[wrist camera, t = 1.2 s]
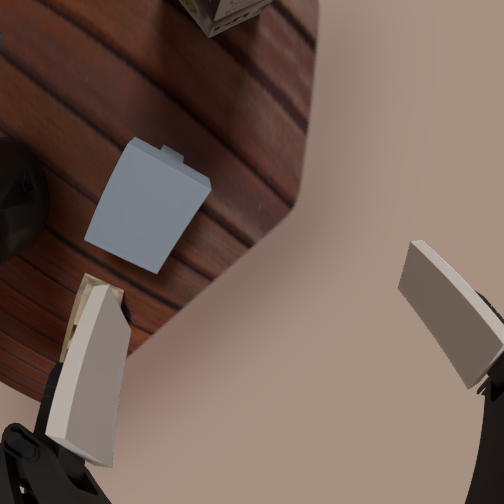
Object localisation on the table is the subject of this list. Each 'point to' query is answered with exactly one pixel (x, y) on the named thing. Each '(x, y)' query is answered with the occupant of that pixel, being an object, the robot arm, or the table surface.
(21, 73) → the table surface
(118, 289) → the rail
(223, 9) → the coffee box
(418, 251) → the robot arm
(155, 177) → the grey plastic block
